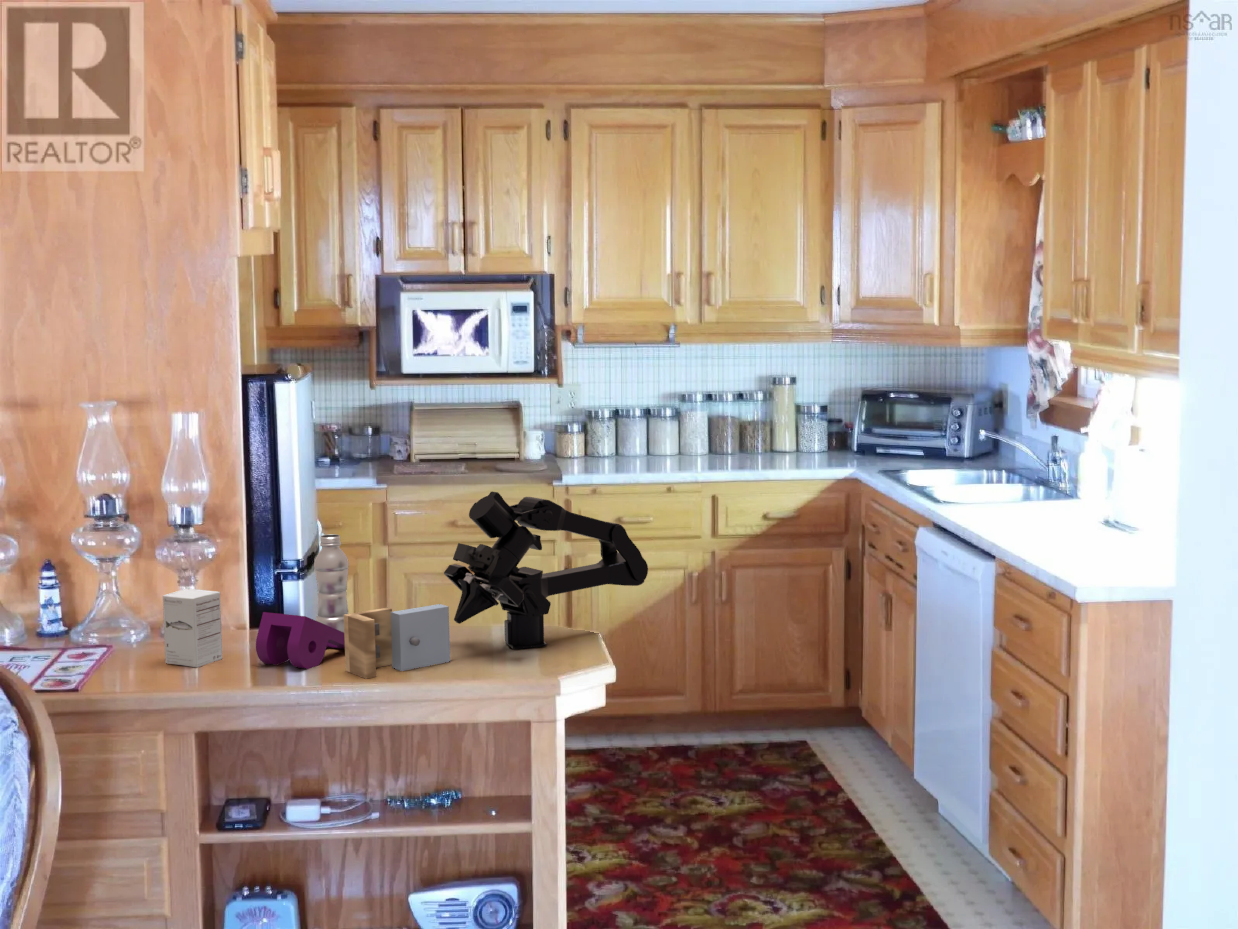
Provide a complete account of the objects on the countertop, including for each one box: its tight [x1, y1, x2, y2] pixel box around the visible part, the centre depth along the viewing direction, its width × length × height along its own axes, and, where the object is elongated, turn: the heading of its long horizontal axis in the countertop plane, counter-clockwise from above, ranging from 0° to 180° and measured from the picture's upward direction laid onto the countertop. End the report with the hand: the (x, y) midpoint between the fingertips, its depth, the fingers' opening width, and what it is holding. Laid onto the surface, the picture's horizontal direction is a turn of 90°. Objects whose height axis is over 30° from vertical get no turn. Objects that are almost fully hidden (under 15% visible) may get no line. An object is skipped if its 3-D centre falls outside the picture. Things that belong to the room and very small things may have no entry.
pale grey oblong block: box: [391, 603, 451, 672], centre depth 261 cm, size 10×5×10 cm, turn 129°
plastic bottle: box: [313, 534, 350, 632], centre depth 281 cm, size 6×7×20 cm
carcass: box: [344, 607, 393, 680], centre depth 257 cm, size 9×7×10 cm
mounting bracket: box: [255, 611, 345, 670], centre depth 267 cm, size 10×8×18 cm
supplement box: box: [162, 588, 223, 668], centre depth 266 cm, size 7×7×13 cm
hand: (456, 622), depth 265 cm, fingers closed
